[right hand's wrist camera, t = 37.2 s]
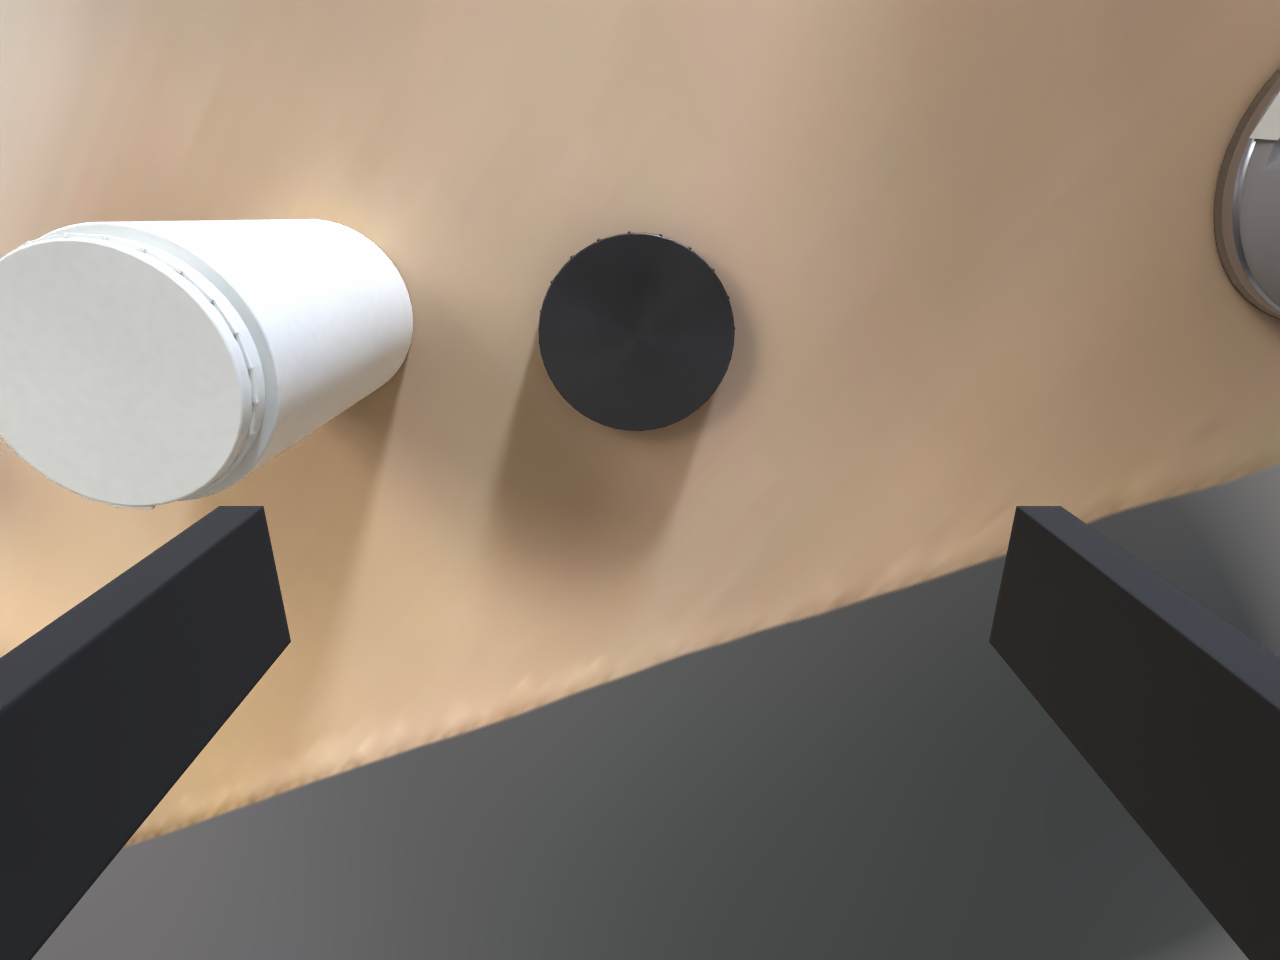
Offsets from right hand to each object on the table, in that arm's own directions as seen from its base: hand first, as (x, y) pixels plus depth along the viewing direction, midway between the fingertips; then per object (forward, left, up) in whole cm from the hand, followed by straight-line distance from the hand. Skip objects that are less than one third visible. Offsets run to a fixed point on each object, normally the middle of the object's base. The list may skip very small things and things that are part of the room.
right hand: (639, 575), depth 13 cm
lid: (0, 0, -26) cm, 26 cm away
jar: (+8, +15, -28) cm, 33 cm away
